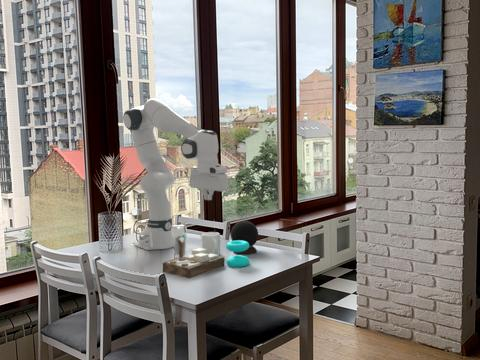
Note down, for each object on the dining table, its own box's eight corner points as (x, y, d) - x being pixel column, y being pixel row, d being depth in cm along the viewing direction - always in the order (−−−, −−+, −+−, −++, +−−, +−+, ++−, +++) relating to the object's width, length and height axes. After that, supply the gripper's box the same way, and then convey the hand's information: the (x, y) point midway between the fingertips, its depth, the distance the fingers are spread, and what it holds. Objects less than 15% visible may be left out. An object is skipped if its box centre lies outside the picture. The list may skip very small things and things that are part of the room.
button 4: (204, 264, 217) (203, 255, 216) (211, 262, 220) (210, 253, 220) (211, 266, 214) (211, 257, 213) (218, 263, 217) (218, 254, 217)
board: (162, 271, 211) (162, 261, 211) (198, 260, 227) (197, 250, 227) (189, 278, 201) (188, 267, 200) (224, 266, 217) (224, 255, 216)
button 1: (182, 265, 217) (182, 256, 216) (190, 263, 220) (189, 254, 220) (189, 267, 214) (189, 257, 213) (197, 264, 217) (196, 255, 217)
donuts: (253, 242, 216) (235, 246, 210) (254, 264, 217) (236, 269, 211) (239, 238, 224) (221, 242, 218) (240, 260, 225) (222, 264, 219)
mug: (225, 258, 229) (224, 236, 228) (207, 260, 227) (207, 238, 226) (217, 252, 241) (216, 231, 240) (200, 254, 238) (199, 233, 237)
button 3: (192, 258, 221) (192, 249, 221) (199, 256, 224) (199, 247, 224) (199, 260, 218) (199, 251, 218) (206, 258, 222) (206, 249, 221)
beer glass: (181, 261, 227) (180, 228, 225) (169, 259, 231) (168, 227, 229) (191, 257, 233) (189, 225, 231) (179, 255, 237) (178, 224, 235)
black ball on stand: (263, 253, 237) (262, 221, 235) (236, 256, 232) (235, 224, 230) (252, 247, 249) (251, 217, 247) (227, 250, 244) (226, 219, 243)
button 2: (194, 264, 212) (193, 255, 212) (201, 261, 215) (200, 252, 215) (201, 265, 209) (201, 256, 209) (208, 263, 213) (208, 254, 212)
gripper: (185, 166, 221) (186, 198, 223) (220, 170, 208) (220, 203, 209) (196, 166, 226) (196, 196, 227) (230, 169, 213) (230, 201, 214)
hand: (208, 199), depth 218 cm, fingers closed
